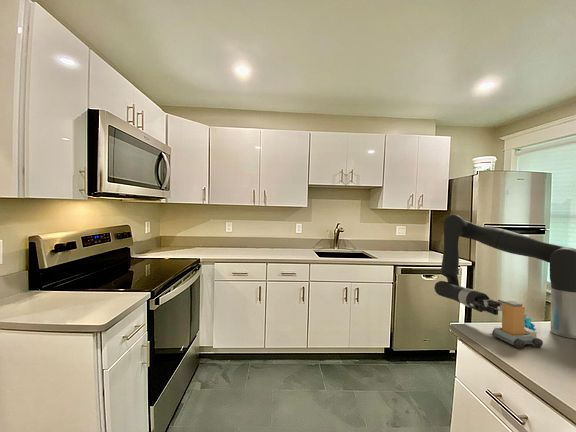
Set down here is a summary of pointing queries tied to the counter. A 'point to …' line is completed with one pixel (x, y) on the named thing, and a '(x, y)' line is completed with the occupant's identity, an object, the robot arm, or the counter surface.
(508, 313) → the orange tower grey cap
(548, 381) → the counter surface
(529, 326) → the gear
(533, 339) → the truck
